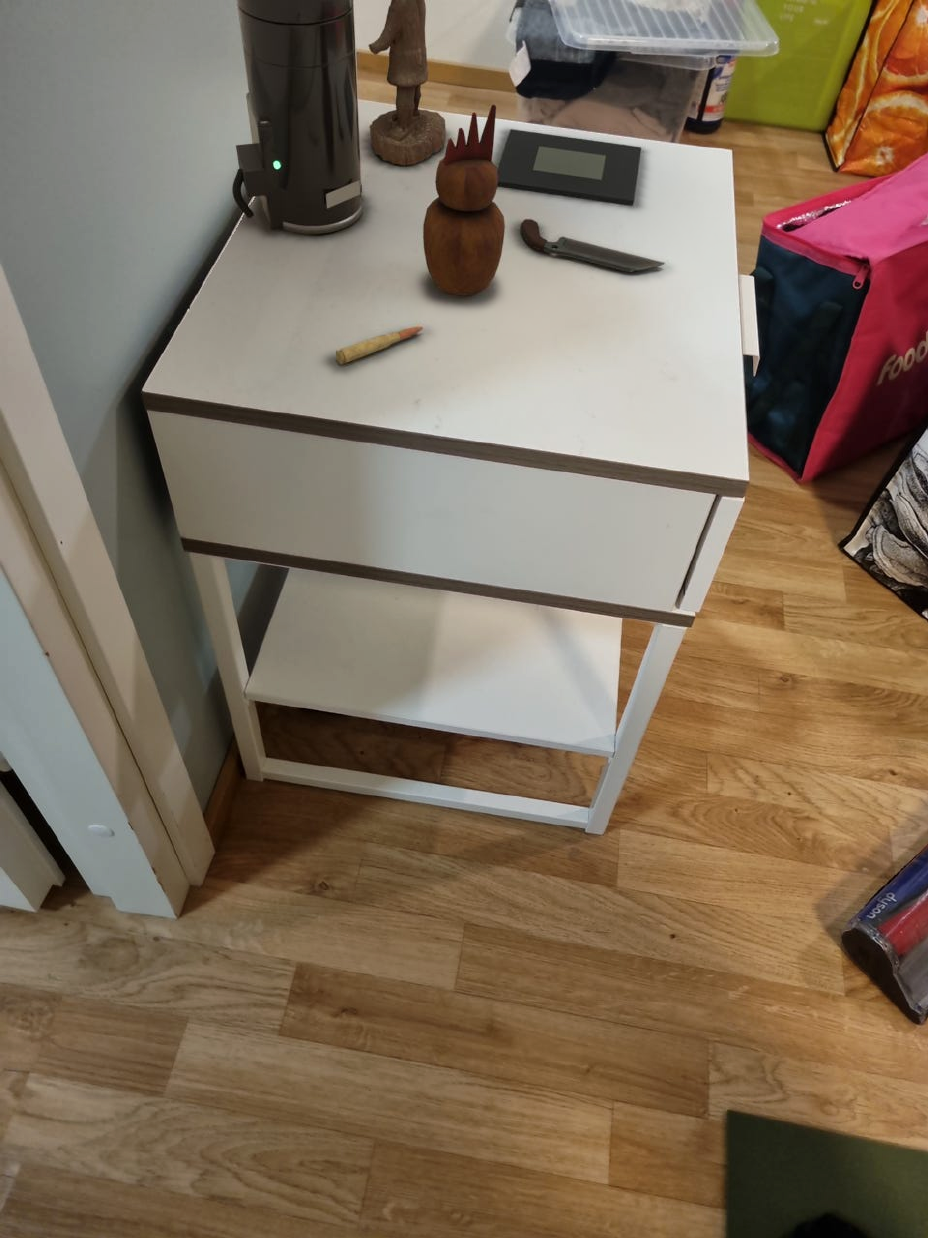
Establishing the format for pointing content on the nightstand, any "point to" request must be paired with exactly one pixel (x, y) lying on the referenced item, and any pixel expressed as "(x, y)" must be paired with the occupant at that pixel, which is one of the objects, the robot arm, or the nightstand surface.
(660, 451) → the nightstand surface
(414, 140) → the figurine
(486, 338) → the nightstand surface
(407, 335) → the bullet
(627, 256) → the knife
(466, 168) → the wooden figurine
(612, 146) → the mat
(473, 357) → the nightstand surface
